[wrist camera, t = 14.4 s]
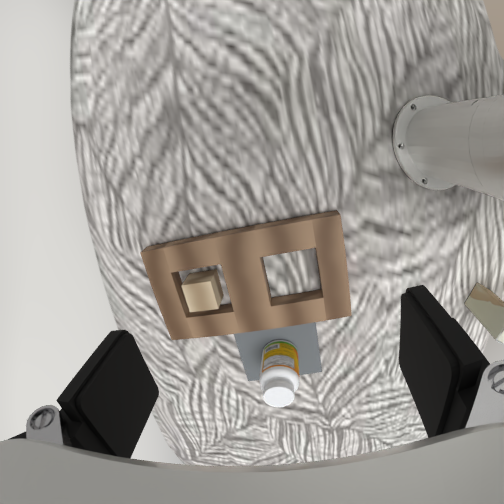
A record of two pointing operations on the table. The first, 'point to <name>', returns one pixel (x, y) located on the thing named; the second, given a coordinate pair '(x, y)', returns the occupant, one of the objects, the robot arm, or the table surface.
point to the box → (487, 310)
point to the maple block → (203, 291)
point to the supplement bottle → (279, 373)
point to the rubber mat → (297, 335)
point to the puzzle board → (251, 277)
